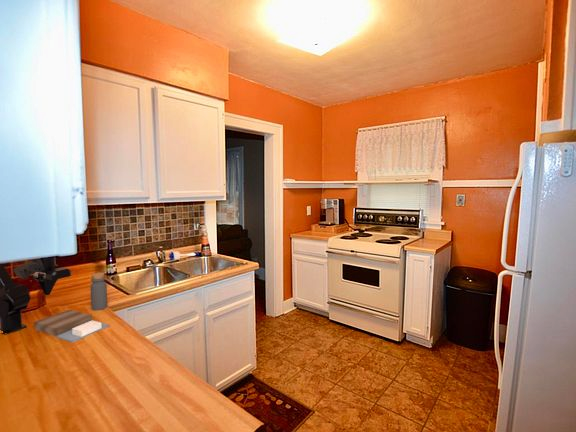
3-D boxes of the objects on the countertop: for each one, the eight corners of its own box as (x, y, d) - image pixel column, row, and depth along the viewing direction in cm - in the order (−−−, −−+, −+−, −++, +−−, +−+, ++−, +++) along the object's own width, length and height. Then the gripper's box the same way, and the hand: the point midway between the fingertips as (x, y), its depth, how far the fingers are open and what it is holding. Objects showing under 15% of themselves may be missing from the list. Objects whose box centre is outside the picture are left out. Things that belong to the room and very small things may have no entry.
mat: (56, 337, 101) (56, 335, 101) (94, 322, 113) (93, 320, 113) (72, 342, 98) (72, 340, 98) (109, 326, 110) (109, 324, 110)
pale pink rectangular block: (81, 331, 100) (82, 336, 101) (101, 322, 107) (101, 328, 107) (72, 328, 102) (72, 334, 102) (92, 320, 109) (92, 325, 109)
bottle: (110, 306, 129) (109, 272, 128) (98, 311, 124) (97, 276, 122) (100, 304, 131) (98, 271, 130) (88, 309, 125) (86, 275, 124)
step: (34, 329, 107) (34, 321, 106) (69, 316, 118) (69, 309, 117) (58, 336, 102) (57, 328, 101) (92, 322, 113) (92, 315, 112)
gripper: (0, 254, 100) (4, 298, 102) (33, 259, 93) (37, 307, 95) (38, 248, 111) (41, 289, 112) (70, 252, 104) (73, 295, 105)
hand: (47, 295), depth 106 cm, fingers closed
